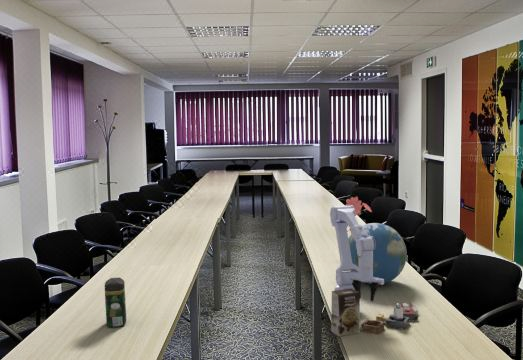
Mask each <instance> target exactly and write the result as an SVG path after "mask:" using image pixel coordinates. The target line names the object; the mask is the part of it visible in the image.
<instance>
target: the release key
mask: <svg viewBox="0 0 523 360" xmlns="http://www.w3.org/2000/svg"><path fill="white" fill-rule="evenodd" d="M387 318H388V319H389V316H385V315H384V313H378V314H376V316H375V320H376V321H383V322H384V323H386V319H387Z"/></svg>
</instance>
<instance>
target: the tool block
mask: <svg viewBox="0 0 523 360" xmlns="http://www.w3.org/2000/svg"><path fill="white" fill-rule="evenodd" d="M388 317H389V319H388V318H387V319H386V322H385V327H386V328H387V327H388V328H394V329H401V330H406V329H407V328H408V326H409V325H410V320H409V317H403V322H401V321H394V314H390V315H389V316H388Z"/></svg>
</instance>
